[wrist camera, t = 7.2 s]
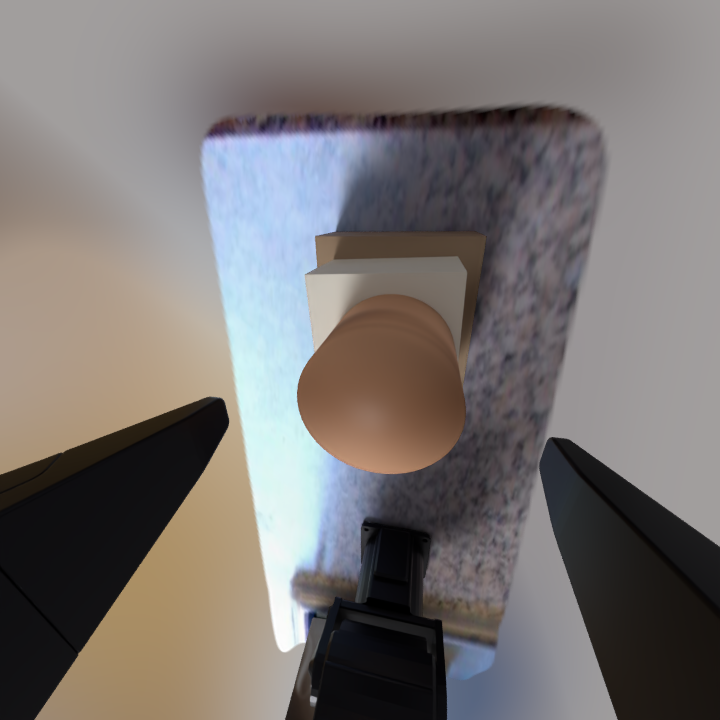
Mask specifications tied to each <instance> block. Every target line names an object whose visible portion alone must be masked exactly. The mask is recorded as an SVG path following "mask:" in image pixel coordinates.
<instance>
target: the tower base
mask: <svg viewBox="0 0 720 720" xmlns="http://www.w3.org/2000/svg"><path fill="white" fill-rule="evenodd" d="M486 237H487V236H485V235H482V234H480V233H478V232H476V231H395V232H332V233H328V234H323V235H319V236H315V242H316V255H317V268H318V267H320V266H322V265H324V264H326V263H328V262H330V261H332V260H336V259H373V258H411V257H449V256H458V258H459V259H460V261H461V263H462V264H463V266H464V268H465V269H466V271H467V279H466V289H465V299H464V309H463V319H462V329H461V339H460V349H459V359H458V365H459V371H460V376H461V382H462V387H463V382H464V376H465V370H466V363H467V357H468V351H469V344H470V338H471V332H472V326H473V319H474V313H475V307H476V300H477V294H478V288H479V281H480V275H481V269H482V263H483V256H484V250H485V244H486Z"/></svg>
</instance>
